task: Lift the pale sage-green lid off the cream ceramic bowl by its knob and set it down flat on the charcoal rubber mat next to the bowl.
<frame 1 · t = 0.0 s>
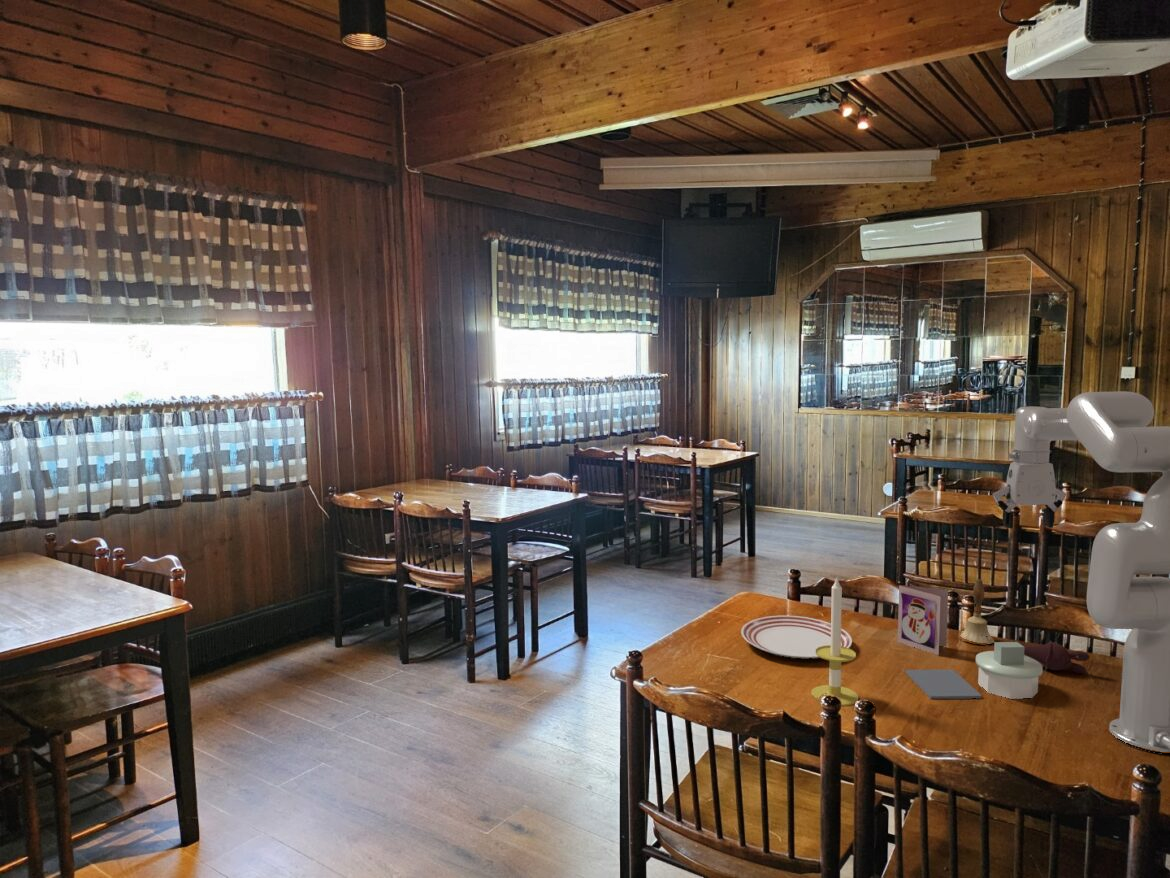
hand: (1027, 526, 192), 31 cm above the table, tool pointing down, fingers open, 9 cm apart
hand bell: (976, 640, 202), on the table
mat: (942, 684, 176), on the table
candle: (834, 696, 171), on the table
dinner plate: (795, 646, 201), on the table
lid: (1008, 666, 173), point 5 cm above the table, touching bowl
bowl: (1007, 688, 174), on the table
greeting card: (924, 647, 199), on the table
icecream: (1050, 670, 183), on the table
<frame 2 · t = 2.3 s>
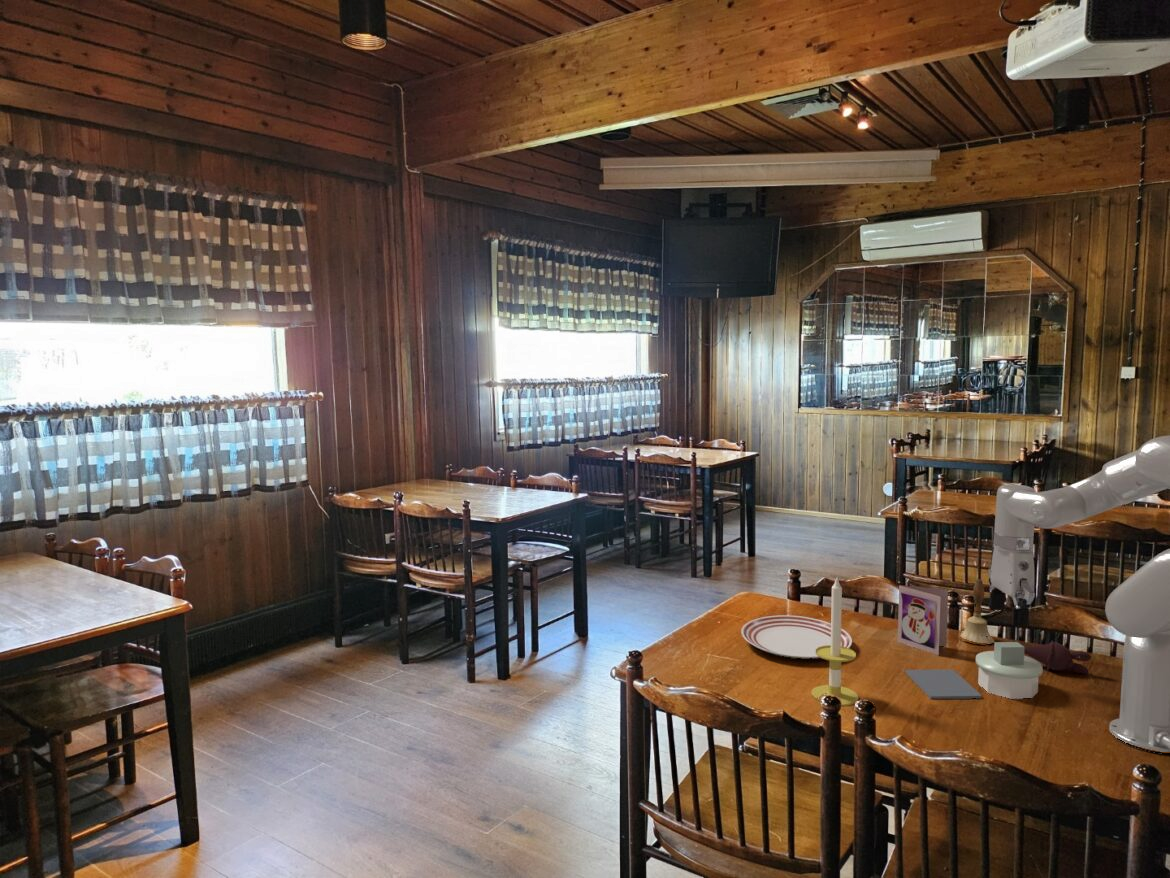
hand: (1007, 617, 172), 16 cm above the table, tool pointing down, fingers open, 9 cm apart
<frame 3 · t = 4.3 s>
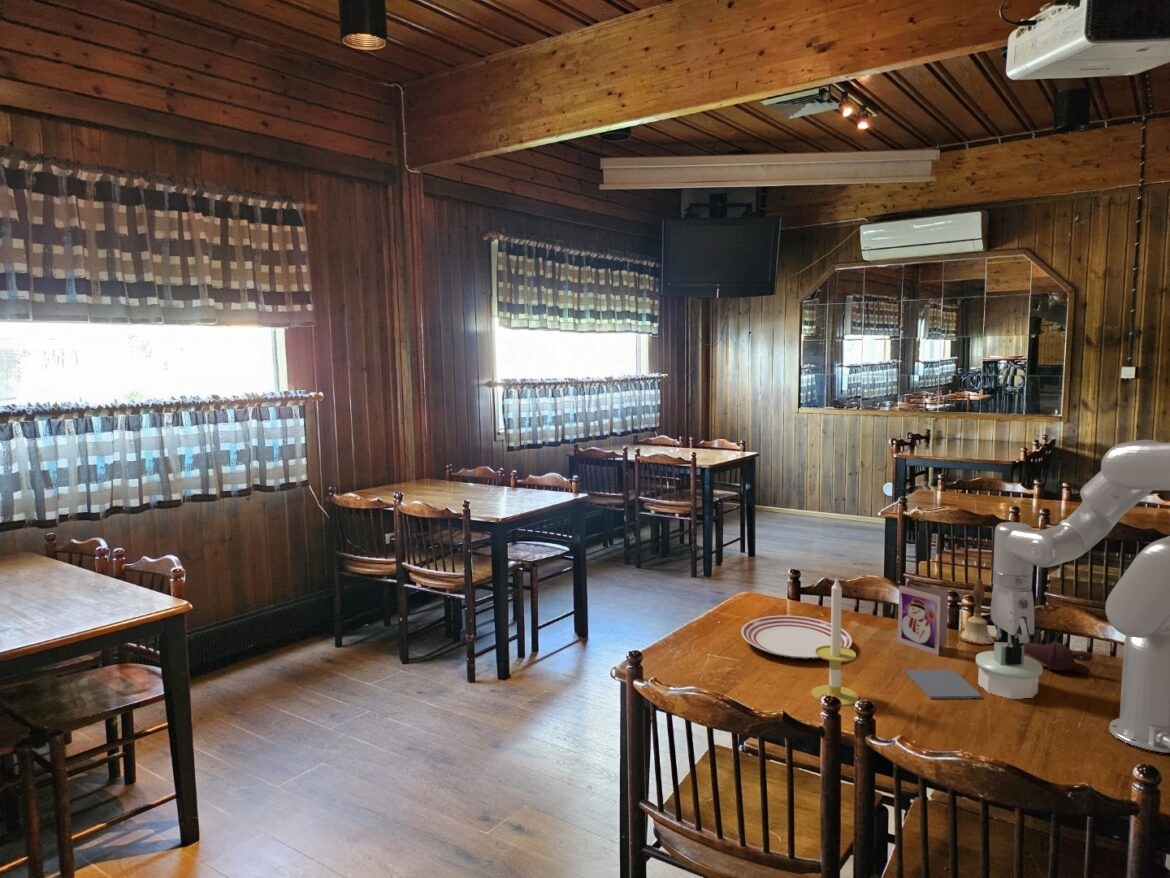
hand: (1008, 659, 173), 7 cm above the table, tool pointing down, fingers closed on lid, 3 cm apart
lid: (1008, 666, 173), point 5 cm above the table, touching gripper
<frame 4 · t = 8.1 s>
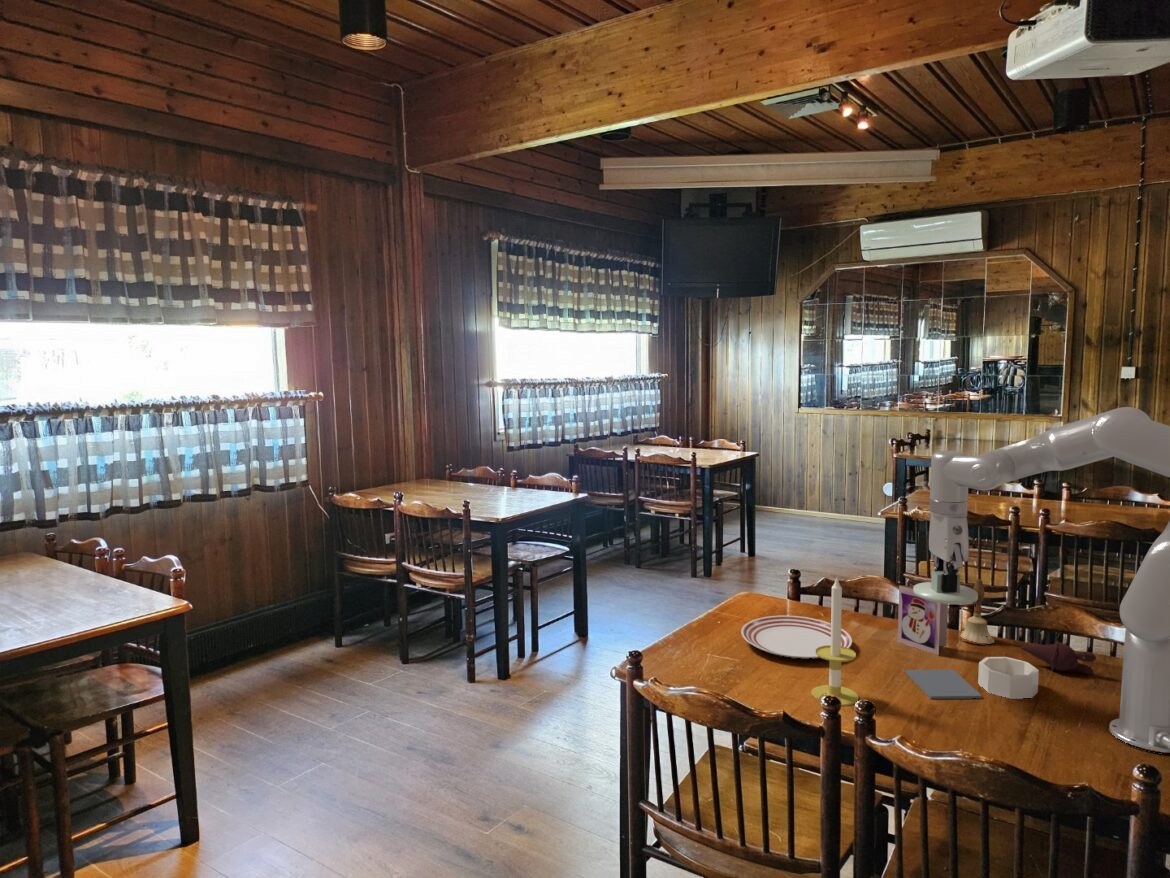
hand: (945, 588, 174), 22 cm above the table, tool pointing down, fingers closed on lid, 3 cm apart
lid: (945, 594, 174), point 21 cm above the table, touching gripper
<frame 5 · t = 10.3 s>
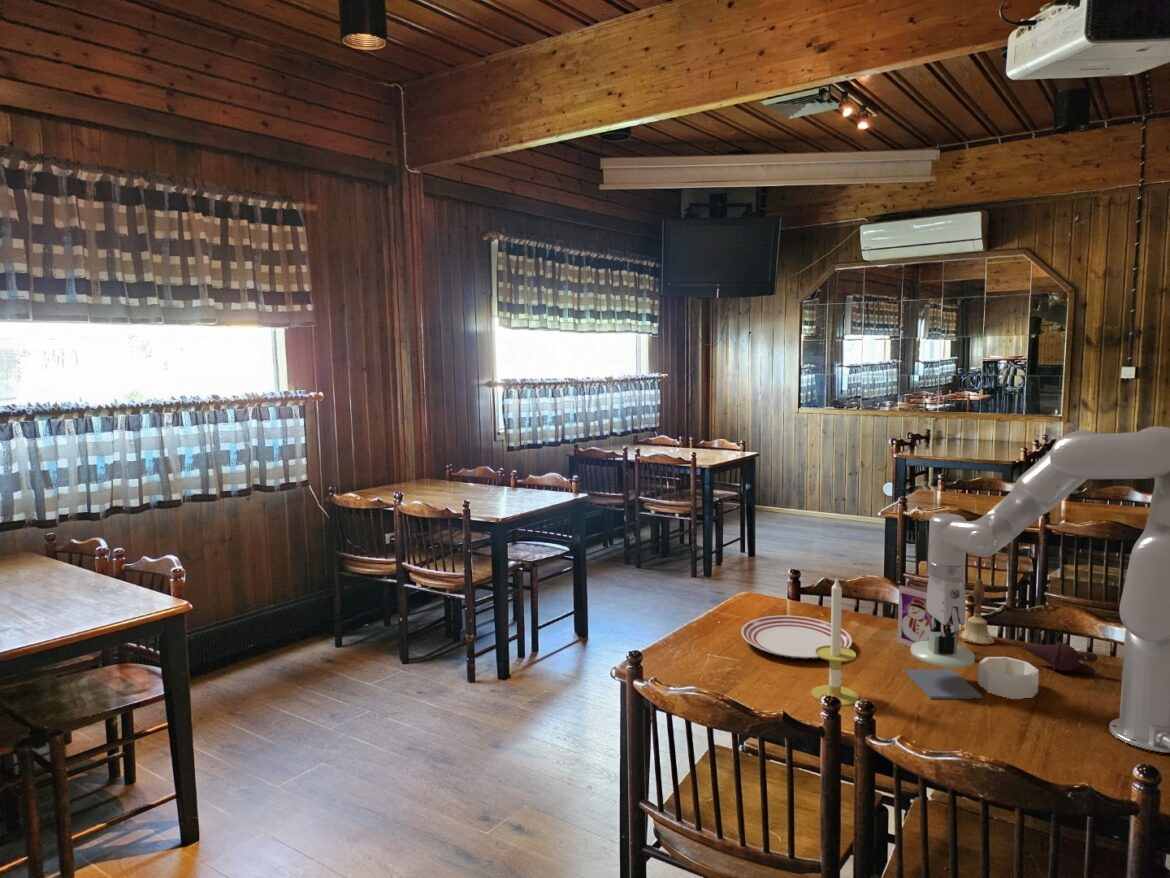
hand: (942, 649, 175), 8 cm above the table, tool pointing down, fingers closed on lid, 3 cm apart
lid: (942, 655, 175), point 7 cm above the table, touching gripper
when the fingers open (4 cm above the table, at t = 12.0 s): lid drops 2 cm, resting on mat.
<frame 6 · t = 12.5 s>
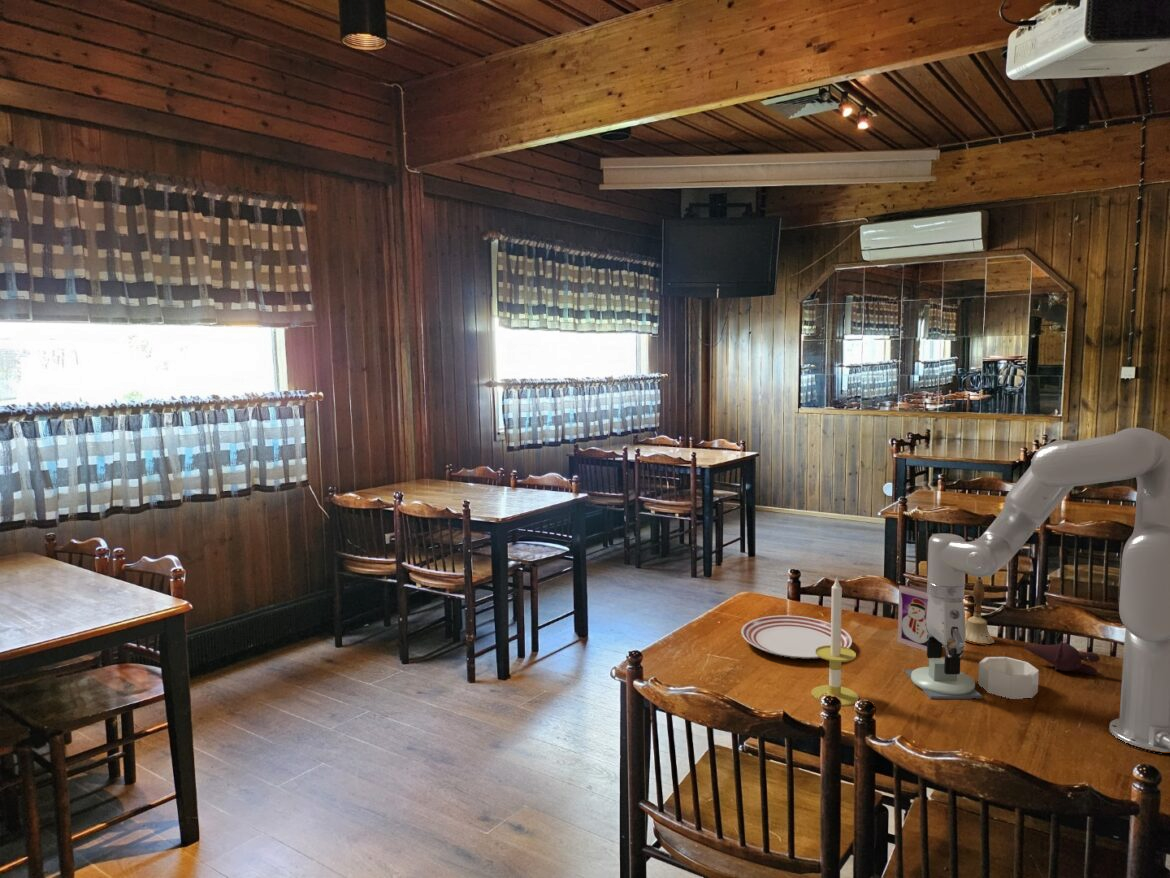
hand: (942, 665, 175), 5 cm above the table, tool pointing down, fingers open, 8 cm apart
lid: (942, 682, 176), point 1 cm above the table, touching mat
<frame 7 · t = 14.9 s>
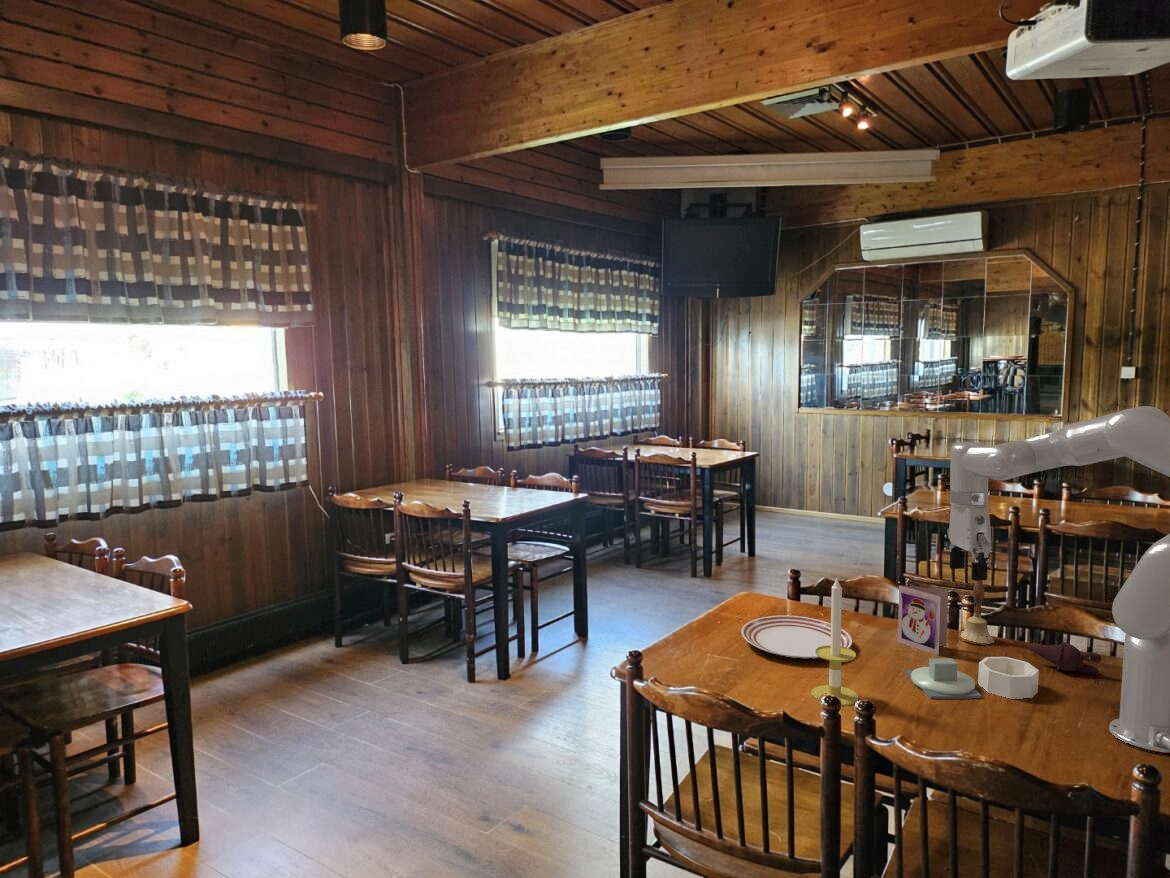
hand: (967, 574, 175), 25 cm above the table, tool pointing down, fingers open, 9 cm apart
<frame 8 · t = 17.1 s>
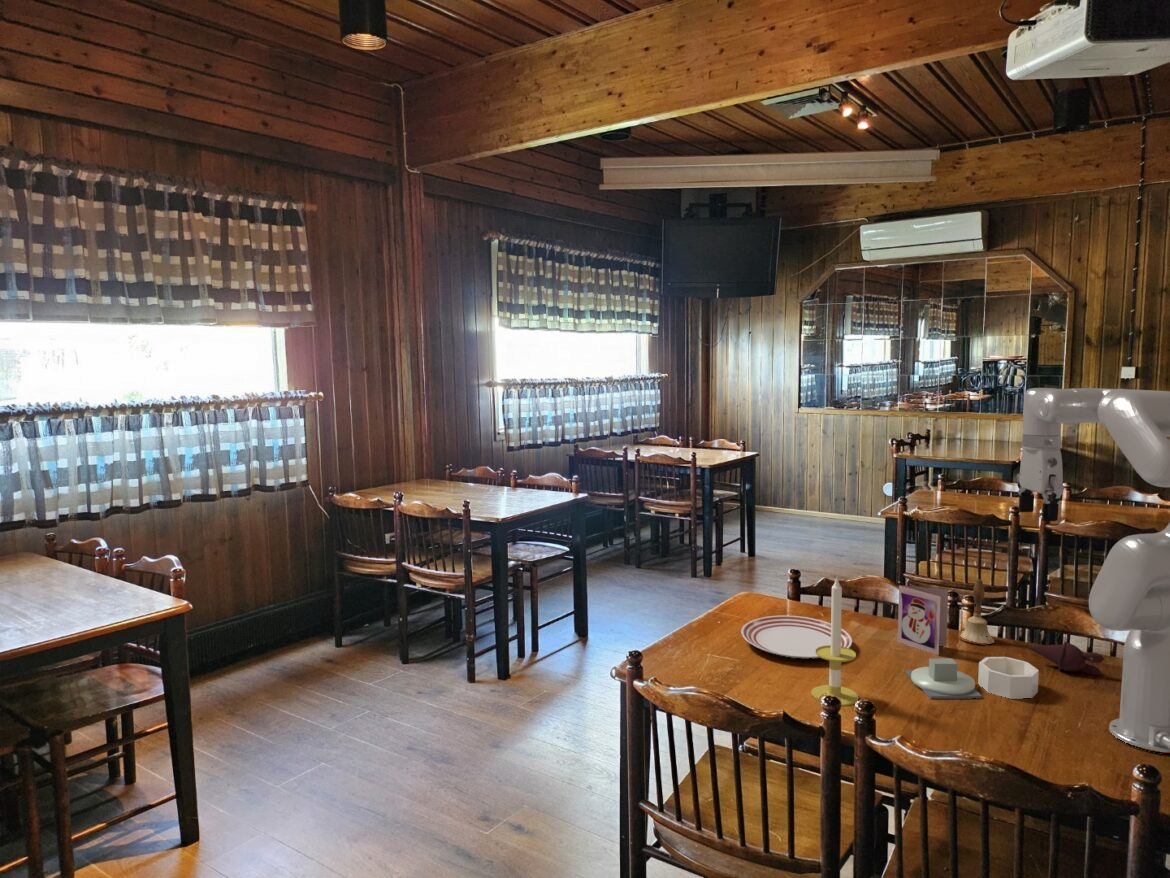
hand: (1037, 516, 180), 36 cm above the table, tool pointing down, fingers open, 9 cm apart
at the end: lid inside the target area on the mat (0.0 cm from its centre), point 0.6 cm above the mat's base; lid tilted 0°; lid touching mat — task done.
